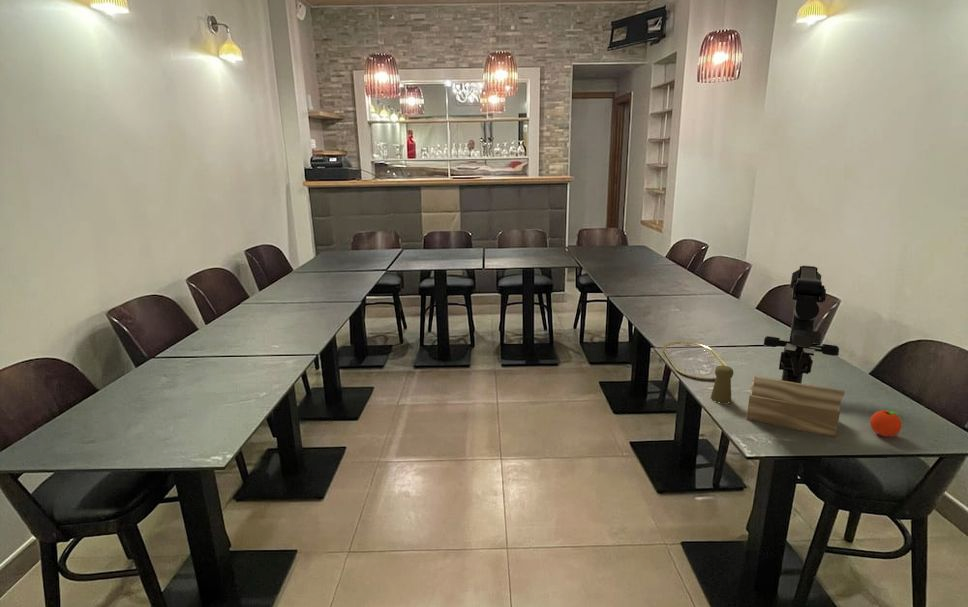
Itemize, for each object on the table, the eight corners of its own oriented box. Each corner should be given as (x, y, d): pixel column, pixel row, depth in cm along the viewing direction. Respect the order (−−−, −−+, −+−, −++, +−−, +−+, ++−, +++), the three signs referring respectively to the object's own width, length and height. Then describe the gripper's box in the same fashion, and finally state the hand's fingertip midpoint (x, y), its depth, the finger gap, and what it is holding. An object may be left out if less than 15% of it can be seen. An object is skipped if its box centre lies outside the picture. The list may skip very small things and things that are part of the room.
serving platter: (704, 345, 214) (705, 341, 214) (737, 382, 181) (738, 378, 180) (657, 345, 216) (657, 341, 215) (681, 381, 182) (681, 377, 182)
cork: (713, 393, 172) (717, 361, 169) (733, 398, 169) (737, 366, 166) (707, 400, 168) (711, 367, 165) (728, 405, 164) (732, 372, 161)
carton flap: (754, 375, 146) (754, 377, 145) (844, 391, 136) (844, 392, 136) (752, 393, 154) (752, 395, 154) (837, 409, 144) (837, 411, 144)
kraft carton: (749, 402, 166) (752, 379, 164) (832, 418, 156) (837, 394, 154) (746, 418, 156) (749, 395, 154) (835, 437, 146) (840, 412, 144)
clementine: (889, 427, 150) (894, 404, 148) (909, 440, 144) (915, 417, 142) (861, 428, 150) (866, 405, 148) (880, 441, 143) (885, 417, 141)
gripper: (767, 315, 154) (759, 369, 153) (845, 325, 145) (836, 382, 144) (767, 318, 163) (760, 369, 163) (839, 327, 155) (832, 381, 154)
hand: (795, 375), depth 156 cm, fingers closed
